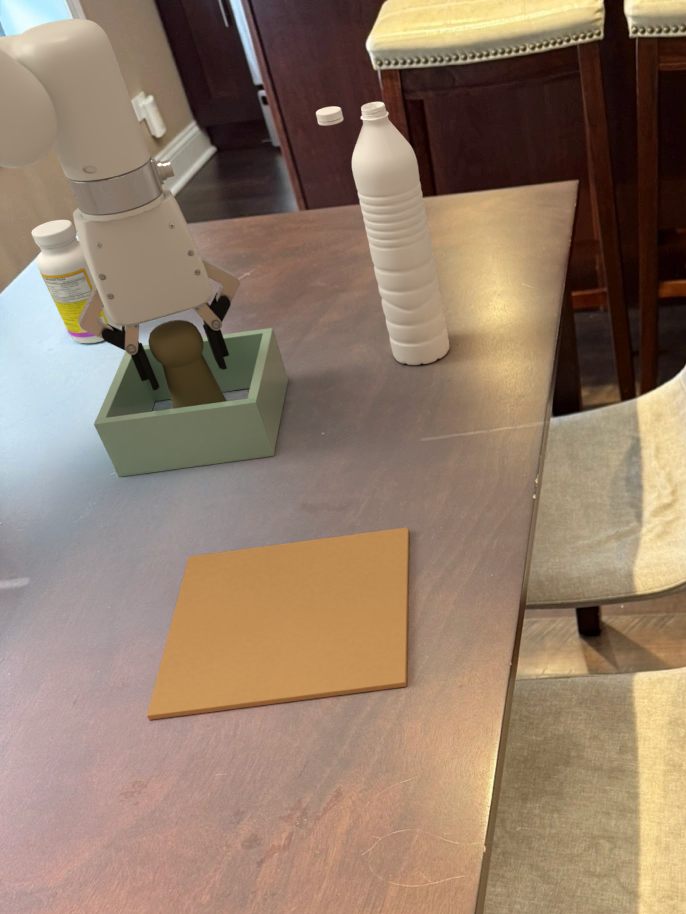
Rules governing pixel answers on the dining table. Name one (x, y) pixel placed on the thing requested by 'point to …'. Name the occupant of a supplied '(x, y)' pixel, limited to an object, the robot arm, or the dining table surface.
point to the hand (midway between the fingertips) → (187, 372)
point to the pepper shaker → (184, 364)
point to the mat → (287, 624)
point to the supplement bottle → (66, 275)
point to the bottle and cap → (397, 235)
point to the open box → (196, 411)
